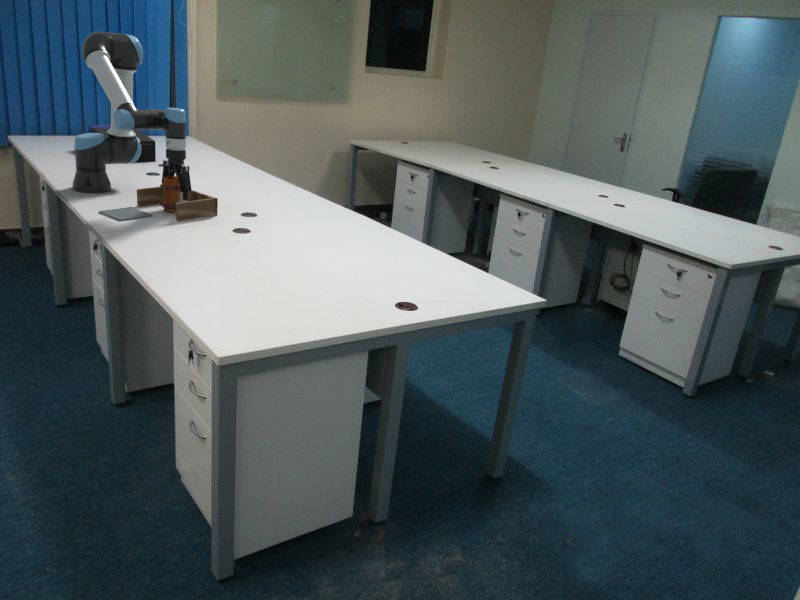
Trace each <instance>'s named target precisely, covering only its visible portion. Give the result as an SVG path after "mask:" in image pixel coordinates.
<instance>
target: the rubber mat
mask: <svg viewBox="0 0 800 600" xmlns="http://www.w3.org/2000/svg"><path fill="white" fill-rule="evenodd" d="M98 214H102V215H104V216H106V217H109V218H111V219H113V220H116V221H119V222H124V221H130V220H137V219H144V218H152V217H153V214H151V213H149V212H146V211H143V210H141V209H138V208H135V207H133V206H130V207H129V206H128V207H121V208H120V207H119V208H114V209H106V210H99V211H98Z"/></svg>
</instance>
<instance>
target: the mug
mask: <svg viewBox="0 0 800 600" xmlns="http://www.w3.org/2000/svg"><path fill="white" fill-rule="evenodd" d="M159 187H161V188H162V189H163V192H164V200H163V201H162V202H161V203H160V204H159V205H160V206H161V207H162V208H163V211H164V212H166V213H169V214H170V213H171V214H176V203H180V191H182V190H181V187H180V183H179V179H178V176H177V175H176V174H175V175H174V176H173V177H172V176H165V177H164V179H163V183H162V182H161V184H160V185H159Z"/></svg>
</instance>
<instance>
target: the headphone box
mask: <svg viewBox="0 0 800 600" xmlns="http://www.w3.org/2000/svg"><path fill="white" fill-rule="evenodd" d="M110 128H111V124H106V125H105V124H88V133H101V134H103V135H104V136H105V137H107V131H108V130H109V129H110ZM133 132H134V133H135V134H136V137H137V138H138V139H139V140H140V144H141V154H140V157H139V159H138V160H137V161H136V162H135V163H144V162H145V163H147V162H148V163H151V162H152V163H153V162H156V161H157V160H156V159H157V157H156V154H157V153H156V140H154V139H152V138H151V137H150V136H149V135H147V134H146V133H144V132H143V131H142V130H133Z"/></svg>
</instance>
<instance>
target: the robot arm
mask: <svg viewBox="0 0 800 600" xmlns="http://www.w3.org/2000/svg"><path fill="white" fill-rule="evenodd" d="M81 47H82V48H81V55H82V59H83V61H84V63H85V64H86V66H87V67H88V68H89V69H91V70H92V71H93V73H94V75H95V77H96V79H97V80H98V82H99V84H100V86H101V88H102V89H103V91H104V93H105V95H106V97H107V98H108V100H109V102H110V125H111V128H110V129H109V130H108V131H107V137H105V136H104V135H103V134H101V133H86V132H85V133H82V134H77V136H75V138H74V145H73V146H74V147H73V149H74V157H75V158H74V159H75V173H74V178H73V181H72V189H73V190H74V191H76V192H81V193H97V194H98V193H99V194H100V193H105V192H106V193H107V192H109V191H111V190H112V184H111V181H110V178H109V176H108V173H107V165H116V164H118V165H119V164H125V165H126V164H132V163H137V162H136V161H137V160H138V159H139V157H140V154H141V144H140V140H139V139H138V138H137V137H136V134H135V133H134V132H133V130H140V131H142V130H143V131H144V130H145V131H151V130H153V131H154V130H158V131H159V130H160V131H165V148H166V149H165V158H166V159H167V160H166V159H165V160H163V161H162V167H163V168H162V177H161V184H162V183H163V179H164V177H165V176H172V177H173V176H176V175H177V176H178V179H179V183H180V187H181V190H182V191H180V202H187V199H188V191H191V190H192V182H191V175H190V166H189V165H186V164H185V162H184V161H185V160H186V159H187V151H186V148H187V138H186V135H187V126H186V125H187V123H186V122H187V119H186V111H185V109H183V108H179V107H166V108H165V110H164V109H160V108H152V109H138V108H137V107H136V106H135V103H134V100H133V99H134V98H133V97H134V96H133V95H134V93H133V92H134V74H135V73H136V72H137V71H138V66H141V65H142V63H143V60H144V51H143V47H142V44H141V42H140V40H139V39H138V38H137V37H136V36H134V35H131V34H127V33H119V32H118V33H117V32H108V31H107V32H104V31H94V32H91V33H90V34H88V35H87V36H86V37H85V39H84V40H83V42H82V46H81Z"/></svg>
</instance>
